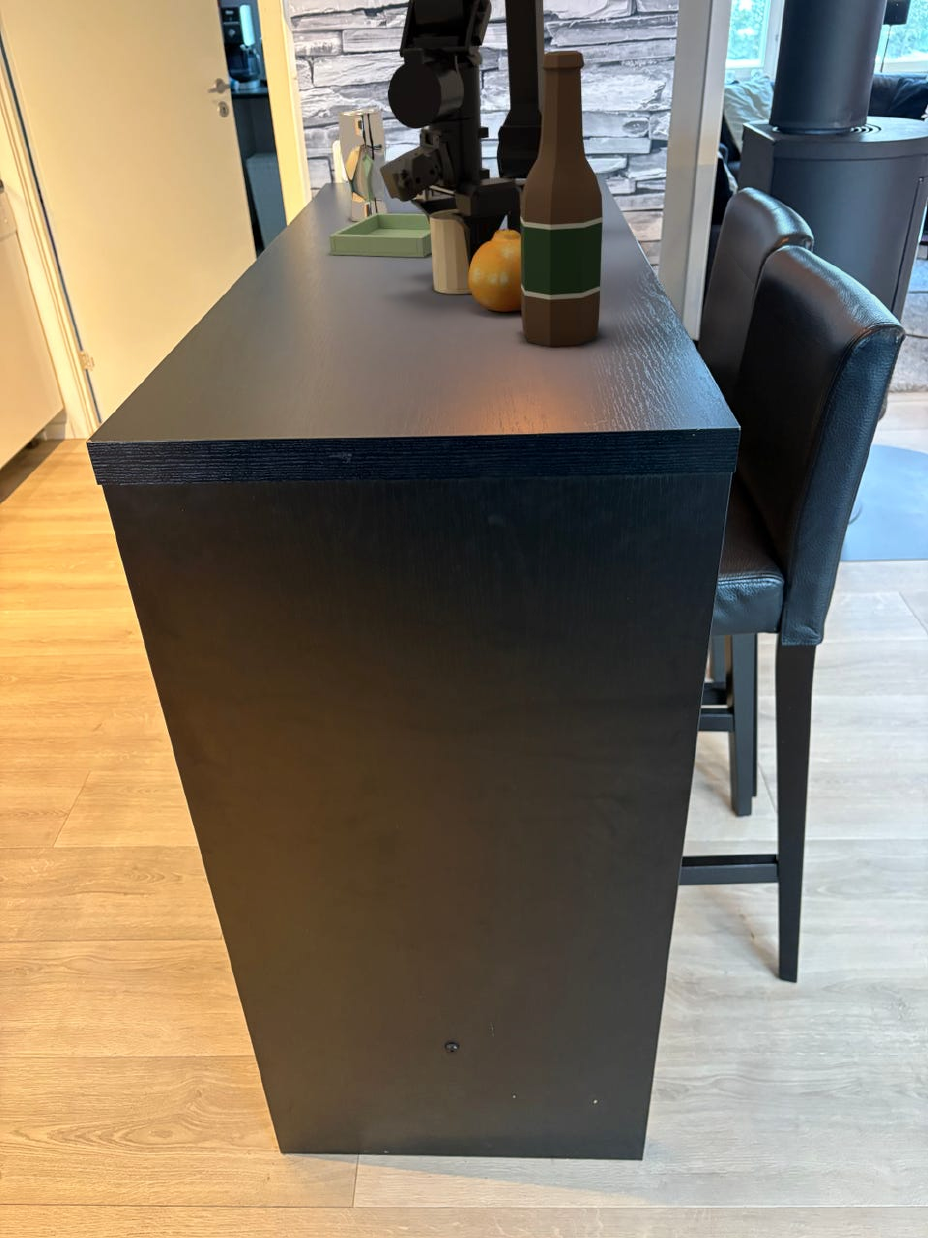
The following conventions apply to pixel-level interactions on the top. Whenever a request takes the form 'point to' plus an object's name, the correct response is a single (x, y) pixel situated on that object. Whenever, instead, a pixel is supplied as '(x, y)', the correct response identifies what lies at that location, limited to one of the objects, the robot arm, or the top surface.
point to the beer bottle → (561, 218)
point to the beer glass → (363, 160)
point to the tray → (384, 236)
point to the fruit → (498, 272)
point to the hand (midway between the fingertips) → (461, 268)
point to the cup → (449, 254)
